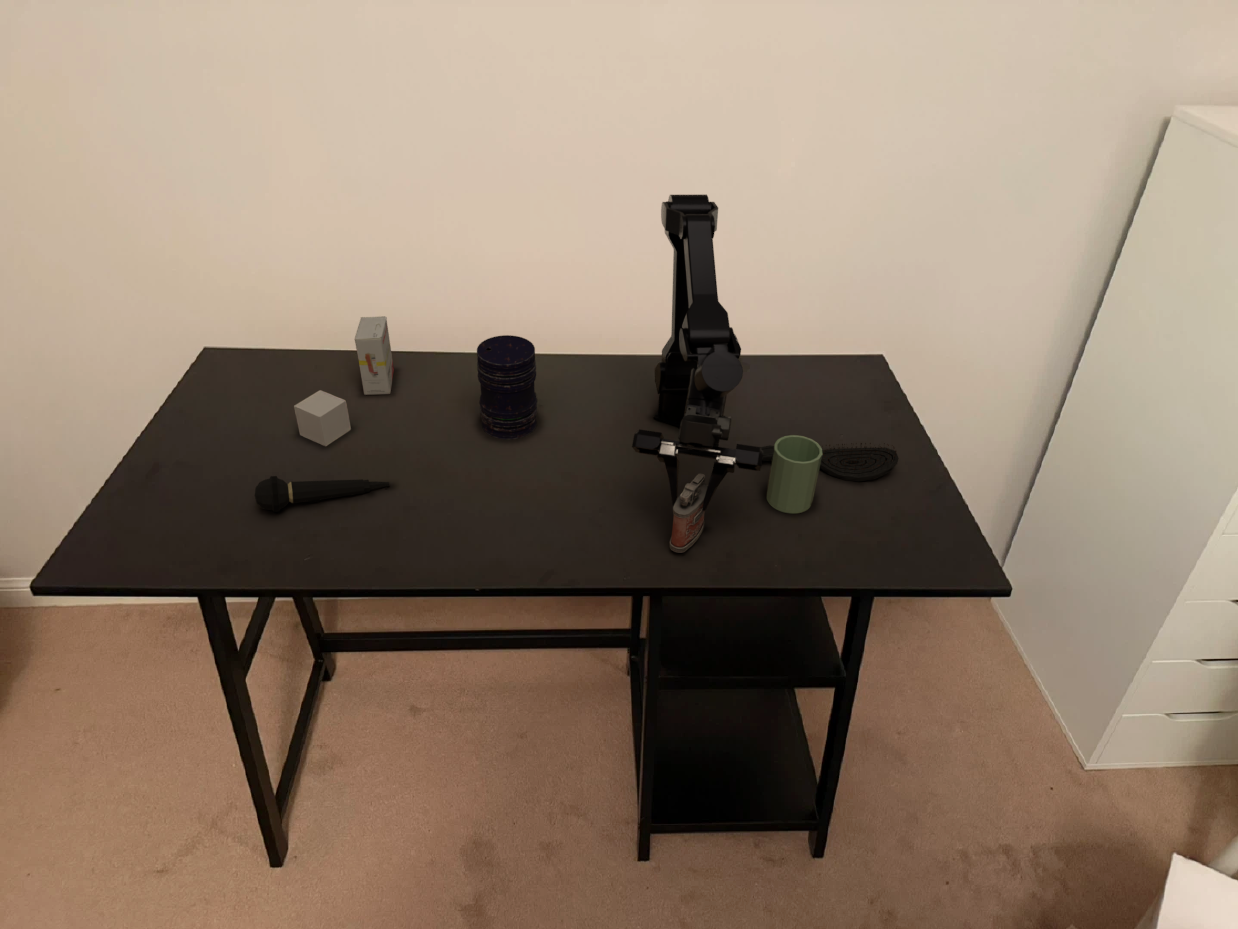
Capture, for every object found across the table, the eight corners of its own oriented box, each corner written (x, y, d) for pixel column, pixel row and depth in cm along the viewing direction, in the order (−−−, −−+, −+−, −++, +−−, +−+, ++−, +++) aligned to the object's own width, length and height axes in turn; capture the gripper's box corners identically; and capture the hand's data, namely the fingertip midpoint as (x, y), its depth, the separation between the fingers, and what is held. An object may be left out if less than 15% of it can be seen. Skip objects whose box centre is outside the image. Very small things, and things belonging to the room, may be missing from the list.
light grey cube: (325, 418, 163) (320, 389, 159) (351, 429, 160) (346, 400, 157) (299, 435, 158) (293, 405, 155) (325, 446, 156) (319, 417, 152)
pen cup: (759, 503, 148) (767, 453, 142) (776, 479, 153) (784, 430, 147) (802, 519, 145) (812, 468, 139) (818, 494, 150) (828, 444, 144)
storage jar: (538, 408, 167) (537, 335, 158) (536, 440, 160) (534, 365, 150) (483, 407, 167) (478, 334, 158) (478, 439, 159) (472, 364, 150)
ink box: (368, 370, 176) (359, 315, 168) (394, 370, 176) (387, 314, 169) (362, 395, 169) (353, 338, 162) (390, 395, 169) (382, 338, 162)
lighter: (684, 555, 136) (690, 504, 130) (664, 547, 137) (669, 495, 131) (708, 525, 142) (715, 474, 135) (689, 517, 143) (694, 466, 137)
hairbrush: (746, 430, 159) (895, 436, 157) (745, 447, 161) (892, 454, 159) (747, 459, 152) (902, 466, 150) (745, 477, 155) (898, 484, 152)
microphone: (387, 495, 151) (255, 507, 144) (385, 461, 149) (252, 472, 142) (392, 506, 146) (256, 519, 139) (391, 472, 144) (253, 483, 137)
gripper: (637, 382, 129) (618, 492, 128) (771, 401, 127) (754, 514, 125) (645, 399, 140) (627, 500, 139) (768, 416, 138) (752, 520, 136)
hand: (688, 508), depth 134 cm, fingers closed on lighter, 4 cm apart
